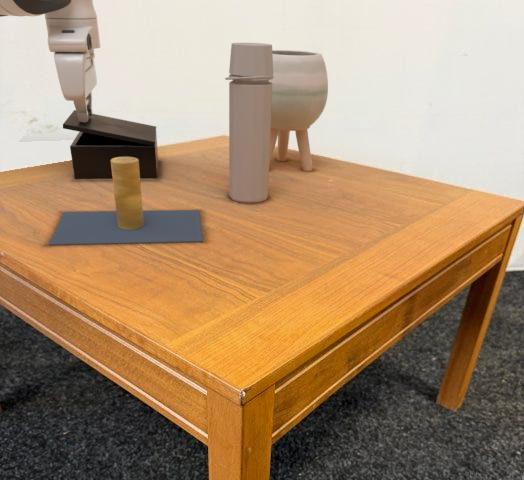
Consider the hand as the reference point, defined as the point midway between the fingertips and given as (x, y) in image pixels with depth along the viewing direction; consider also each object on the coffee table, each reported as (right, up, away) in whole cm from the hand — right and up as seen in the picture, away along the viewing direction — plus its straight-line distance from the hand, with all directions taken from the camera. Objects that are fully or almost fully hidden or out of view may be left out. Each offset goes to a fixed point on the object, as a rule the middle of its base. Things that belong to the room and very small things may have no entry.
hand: (86, 118), depth 107 cm
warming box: (+5, -8, +6) cm, 12 cm away
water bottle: (+31, -17, -5) cm, 36 cm away
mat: (+14, -26, -20) cm, 36 cm away
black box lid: (+5, -1, +2) cm, 5 cm away
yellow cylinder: (+14, -26, -21) cm, 36 cm away
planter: (+39, -5, +14) cm, 42 cm away
